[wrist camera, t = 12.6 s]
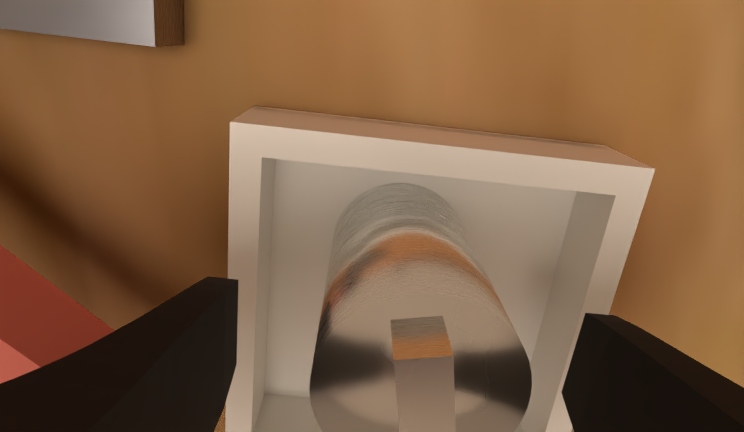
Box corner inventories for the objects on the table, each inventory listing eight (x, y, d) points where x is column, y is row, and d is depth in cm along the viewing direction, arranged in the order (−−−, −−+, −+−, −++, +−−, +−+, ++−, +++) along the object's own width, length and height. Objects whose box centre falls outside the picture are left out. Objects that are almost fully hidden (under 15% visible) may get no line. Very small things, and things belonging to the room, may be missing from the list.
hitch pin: (464, 297, 14) (548, 522, 8) (339, 306, 14) (317, 538, 8) (462, 177, 13) (560, 322, 6) (326, 188, 13) (285, 341, 6)
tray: (527, 420, 17) (554, 484, 14) (245, 396, 16) (225, 458, 14) (604, 145, 13) (655, 168, 11) (254, 105, 13) (229, 121, 11)
